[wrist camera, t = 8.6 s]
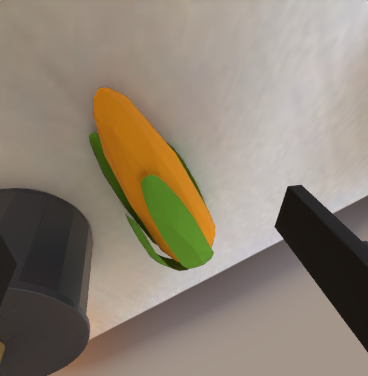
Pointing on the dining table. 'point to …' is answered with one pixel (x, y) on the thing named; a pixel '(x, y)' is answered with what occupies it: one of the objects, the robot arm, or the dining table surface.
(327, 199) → the dining table surface
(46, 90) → the dining table surface
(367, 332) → the robot arm
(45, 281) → the pot
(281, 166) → the dining table surface
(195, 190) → the corn
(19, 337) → the pot lid
